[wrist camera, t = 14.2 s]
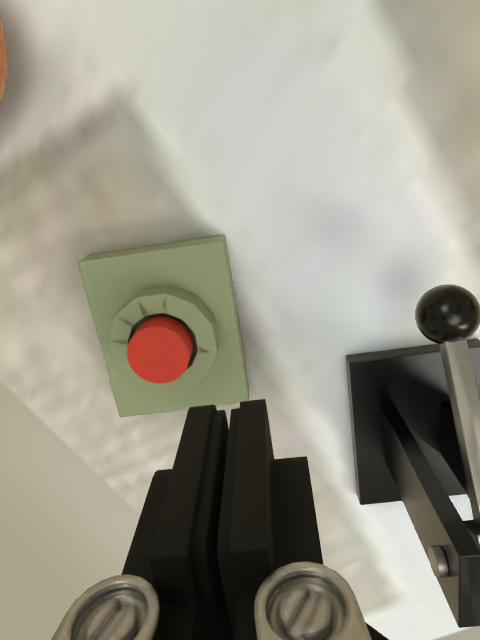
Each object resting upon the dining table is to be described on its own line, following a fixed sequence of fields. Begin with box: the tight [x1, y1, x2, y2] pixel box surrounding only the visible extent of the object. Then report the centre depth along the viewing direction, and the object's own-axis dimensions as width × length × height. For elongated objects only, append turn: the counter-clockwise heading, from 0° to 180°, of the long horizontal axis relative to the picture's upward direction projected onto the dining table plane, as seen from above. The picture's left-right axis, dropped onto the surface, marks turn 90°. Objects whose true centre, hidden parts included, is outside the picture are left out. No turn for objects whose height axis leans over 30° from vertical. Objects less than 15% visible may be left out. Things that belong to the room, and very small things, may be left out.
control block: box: [78, 235, 249, 417], centre depth 30 cm, size 11×9×4 cm
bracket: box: [346, 339, 480, 628], centre depth 27 cm, size 12×9×14 cm
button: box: [127, 317, 193, 384], centre depth 27 cm, size 4×4×2 cm
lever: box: [415, 285, 480, 550], centre depth 23 cm, size 15×3×3 cm, turn 9°
